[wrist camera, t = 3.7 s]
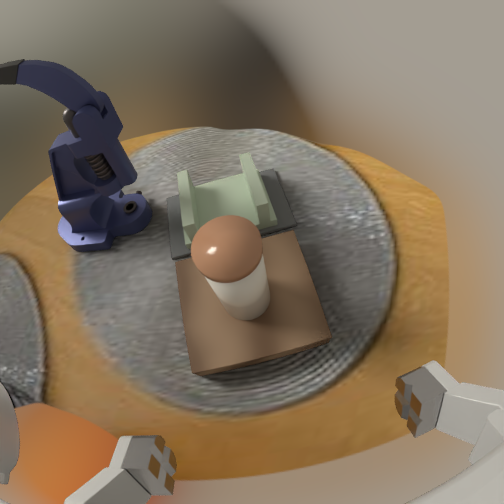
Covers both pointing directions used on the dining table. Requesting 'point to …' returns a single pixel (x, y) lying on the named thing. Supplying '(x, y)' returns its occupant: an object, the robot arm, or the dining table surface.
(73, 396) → the dining table surface
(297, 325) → the board
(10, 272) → the dining table surface
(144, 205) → the hand press
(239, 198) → the rack
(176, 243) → the mat
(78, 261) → the dining table surface
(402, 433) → the dining table surface
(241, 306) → the mushroom
